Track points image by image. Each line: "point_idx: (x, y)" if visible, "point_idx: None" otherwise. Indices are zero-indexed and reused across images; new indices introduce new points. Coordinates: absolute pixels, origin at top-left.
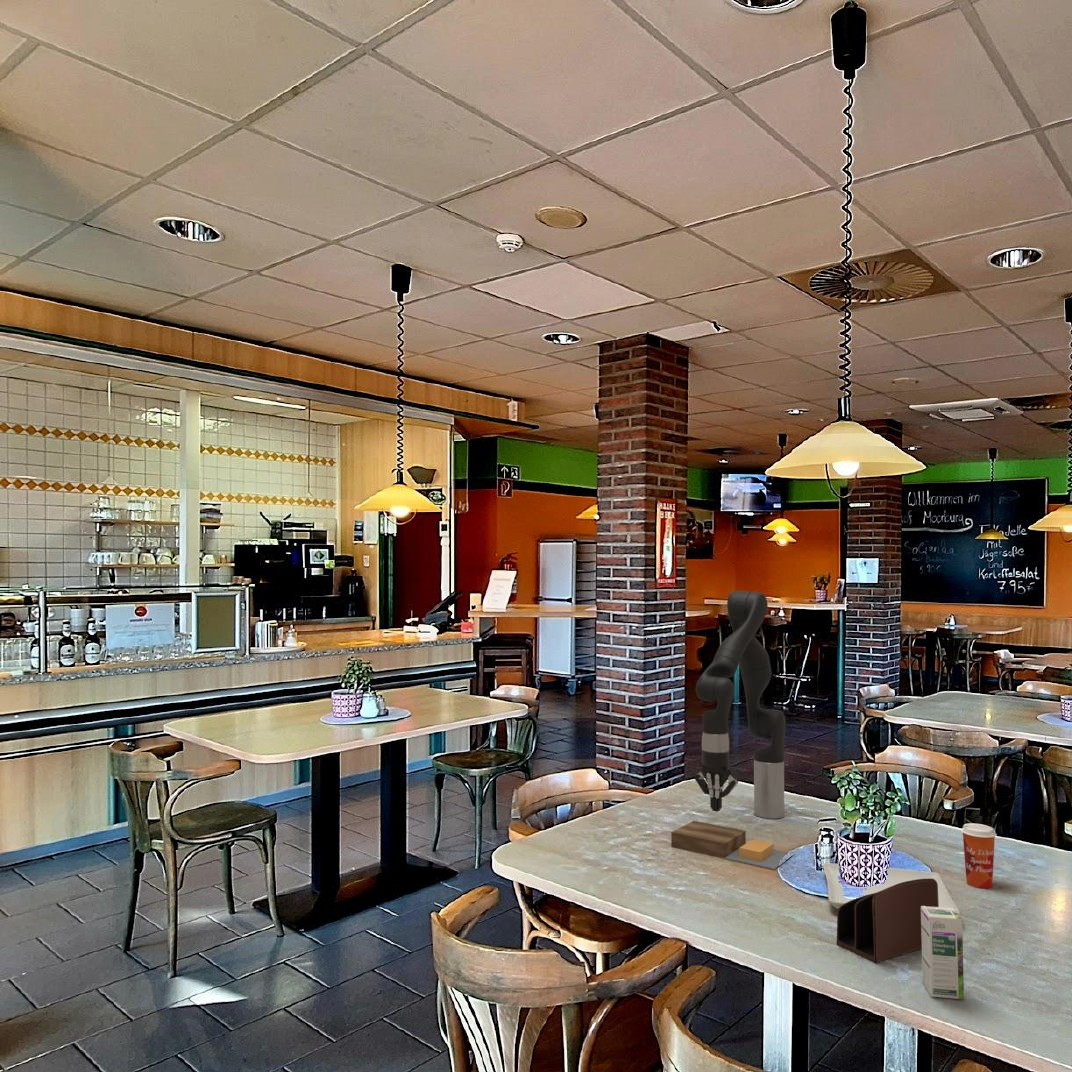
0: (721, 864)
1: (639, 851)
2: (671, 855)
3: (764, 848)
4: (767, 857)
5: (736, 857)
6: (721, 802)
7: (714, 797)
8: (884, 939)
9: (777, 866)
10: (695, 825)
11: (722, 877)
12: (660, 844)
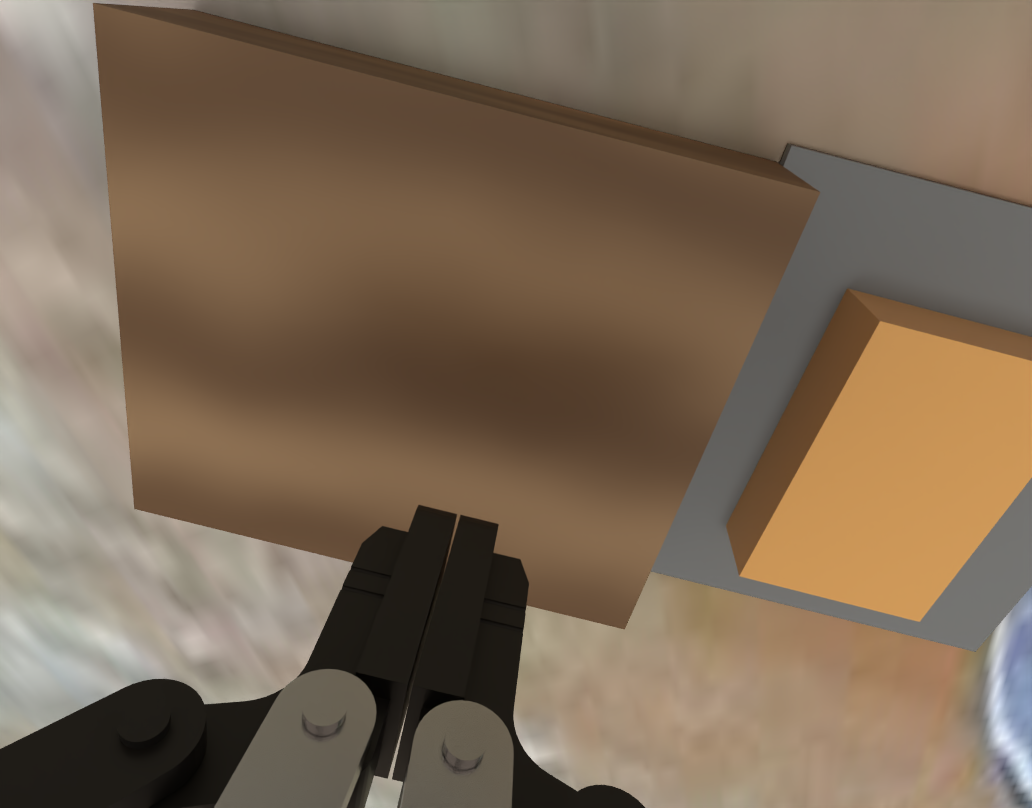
0: (612, 635)
1: (87, 578)
2: (282, 585)
3: (971, 534)
4: None
5: (705, 537)
6: (516, 659)
7: (377, 758)
8: None
9: (1008, 611)
10: (209, 216)
11: (644, 779)
12: (109, 417)
